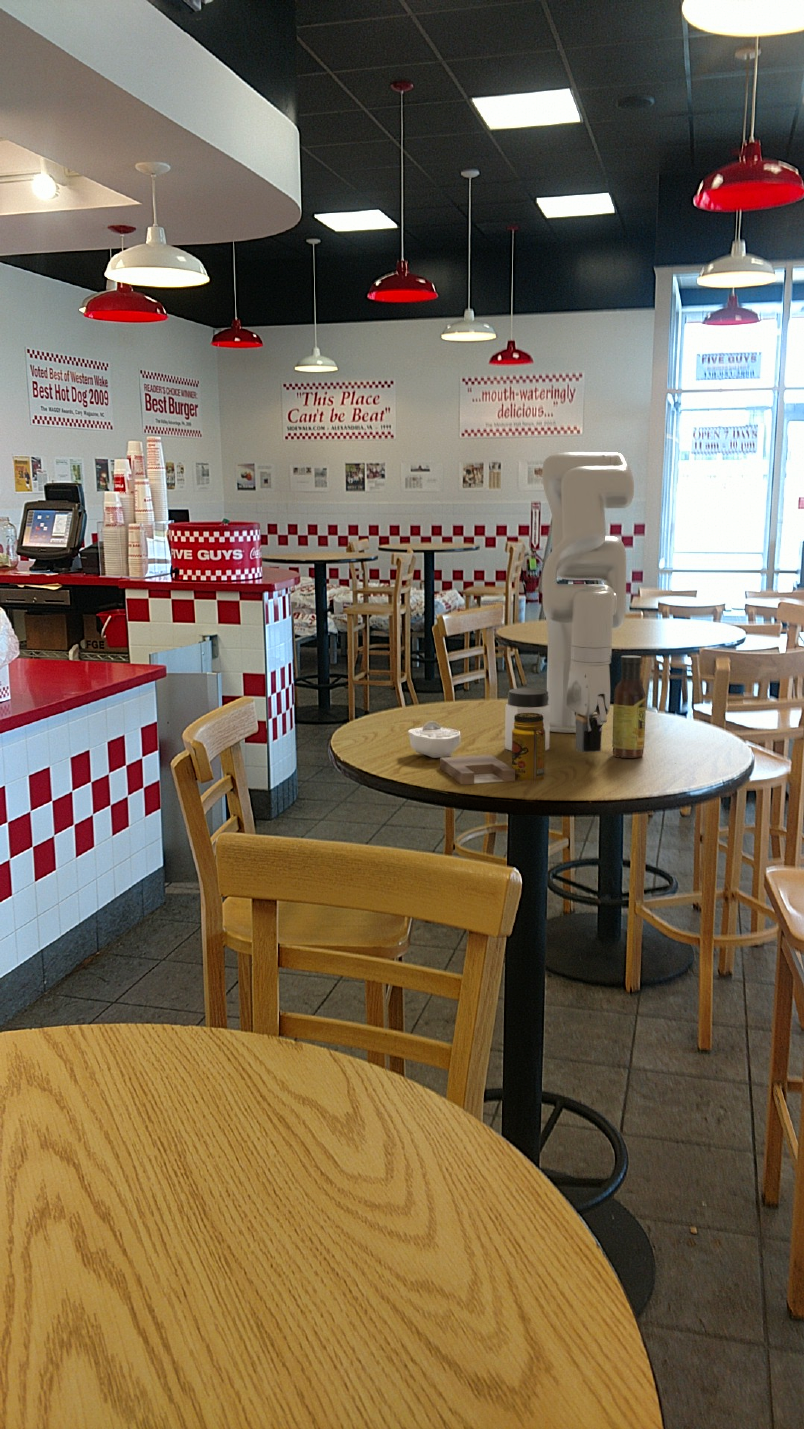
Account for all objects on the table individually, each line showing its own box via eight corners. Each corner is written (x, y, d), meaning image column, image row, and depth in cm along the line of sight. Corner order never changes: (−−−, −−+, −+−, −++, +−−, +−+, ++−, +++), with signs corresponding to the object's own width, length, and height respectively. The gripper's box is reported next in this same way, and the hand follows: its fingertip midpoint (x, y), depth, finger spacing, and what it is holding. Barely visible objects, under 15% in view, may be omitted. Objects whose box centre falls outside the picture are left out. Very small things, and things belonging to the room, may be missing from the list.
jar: (556, 751, 215) (557, 693, 213) (521, 755, 212) (523, 696, 210) (531, 743, 223) (533, 686, 221) (498, 747, 220) (499, 689, 217)
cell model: (415, 764, 205) (415, 729, 203) (403, 751, 216) (403, 718, 215) (467, 762, 206) (467, 727, 205) (452, 749, 218) (452, 716, 217)
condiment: (501, 779, 194) (502, 715, 192) (527, 771, 201) (528, 708, 199) (535, 786, 190) (536, 719, 188) (560, 777, 196) (562, 713, 194)
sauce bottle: (644, 760, 208) (648, 658, 204) (611, 758, 209) (615, 658, 205) (643, 752, 214) (647, 654, 210) (611, 751, 215) (615, 653, 212)
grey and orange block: (575, 748, 208) (576, 714, 206) (593, 747, 209) (595, 713, 207) (581, 752, 205) (583, 718, 203) (600, 751, 206) (602, 716, 204)
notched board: (440, 768, 201) (440, 757, 201) (490, 764, 204) (490, 754, 204) (462, 784, 189) (462, 773, 189) (515, 780, 192) (515, 769, 191)
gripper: (555, 648, 209) (552, 739, 213) (591, 662, 194) (588, 760, 198) (590, 647, 211) (587, 737, 215) (629, 660, 196) (624, 757, 200)
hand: (587, 747), depth 207 cm, fingers closed on grey and orange block, 3 cm apart
